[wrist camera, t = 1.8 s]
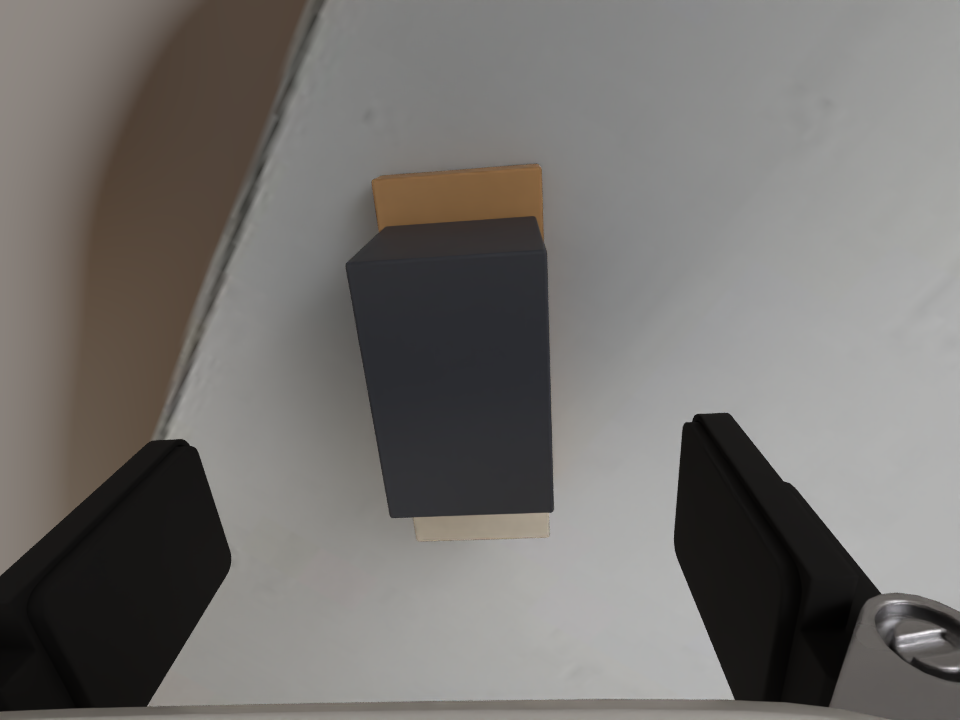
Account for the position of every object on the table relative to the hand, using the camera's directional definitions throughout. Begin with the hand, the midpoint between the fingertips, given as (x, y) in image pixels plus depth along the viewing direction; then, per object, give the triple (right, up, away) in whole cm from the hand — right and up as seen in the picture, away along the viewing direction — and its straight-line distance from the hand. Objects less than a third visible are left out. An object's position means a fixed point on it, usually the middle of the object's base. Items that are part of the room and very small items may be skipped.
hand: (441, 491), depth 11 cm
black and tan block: (+1, +3, +8) cm, 9 cm away
